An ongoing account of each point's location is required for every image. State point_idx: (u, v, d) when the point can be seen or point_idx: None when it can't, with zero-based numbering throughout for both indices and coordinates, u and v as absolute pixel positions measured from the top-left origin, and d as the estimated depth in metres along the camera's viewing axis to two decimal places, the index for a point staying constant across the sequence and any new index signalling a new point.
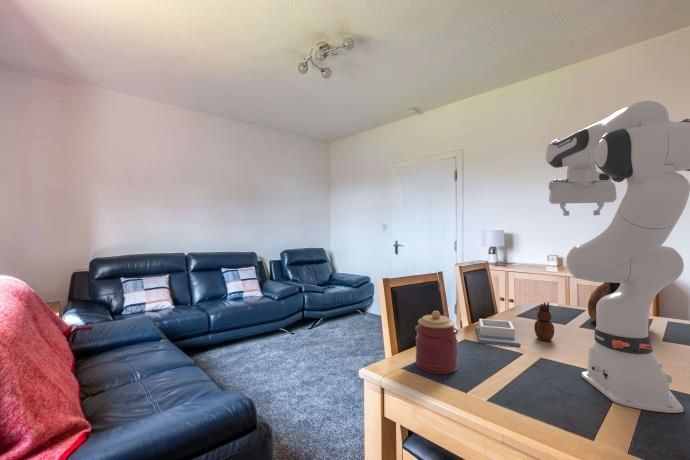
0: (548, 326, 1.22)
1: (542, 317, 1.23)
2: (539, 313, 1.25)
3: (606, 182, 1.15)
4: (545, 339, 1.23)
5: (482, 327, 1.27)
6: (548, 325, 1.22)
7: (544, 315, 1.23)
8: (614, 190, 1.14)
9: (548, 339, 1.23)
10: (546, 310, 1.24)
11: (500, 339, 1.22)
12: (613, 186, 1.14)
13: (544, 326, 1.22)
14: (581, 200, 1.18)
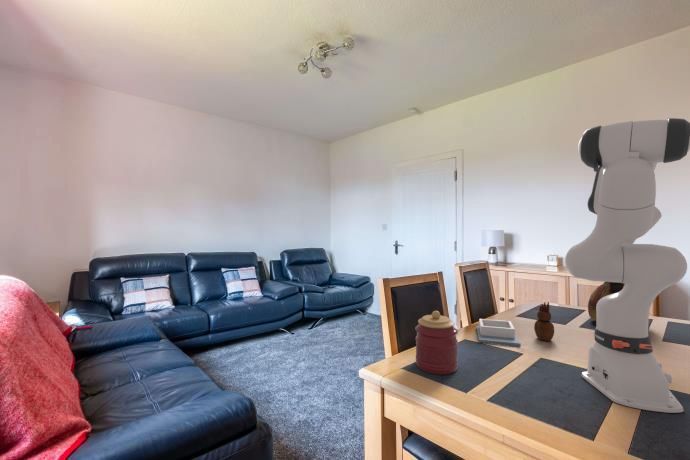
0: (548, 326, 1.22)
1: (542, 317, 1.23)
2: (539, 313, 1.25)
3: None
4: (545, 339, 1.23)
5: (482, 327, 1.27)
6: (548, 325, 1.22)
7: (544, 315, 1.23)
8: None
9: (548, 339, 1.23)
10: (546, 310, 1.24)
11: (500, 339, 1.22)
12: None
13: (544, 326, 1.22)
14: None
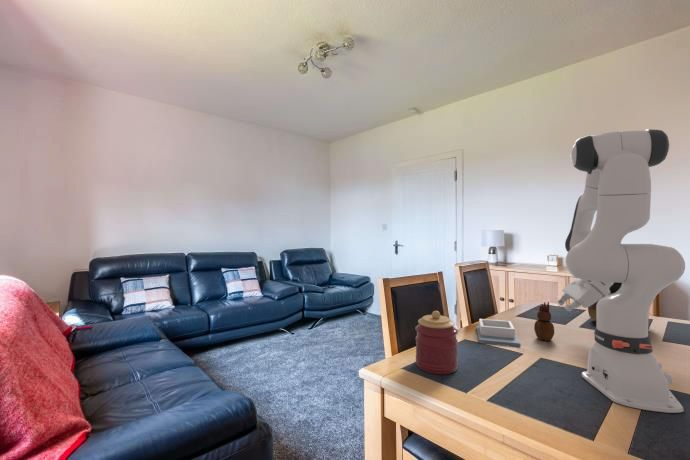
0: (548, 326, 1.22)
1: (542, 317, 1.23)
2: (539, 313, 1.25)
3: (588, 284, 1.15)
4: (545, 339, 1.23)
5: (482, 327, 1.27)
6: (548, 325, 1.22)
7: (544, 315, 1.23)
8: (585, 292, 1.13)
9: (548, 339, 1.23)
10: (546, 310, 1.24)
11: (500, 339, 1.22)
12: (587, 289, 1.13)
13: (544, 326, 1.22)
14: (569, 293, 1.23)
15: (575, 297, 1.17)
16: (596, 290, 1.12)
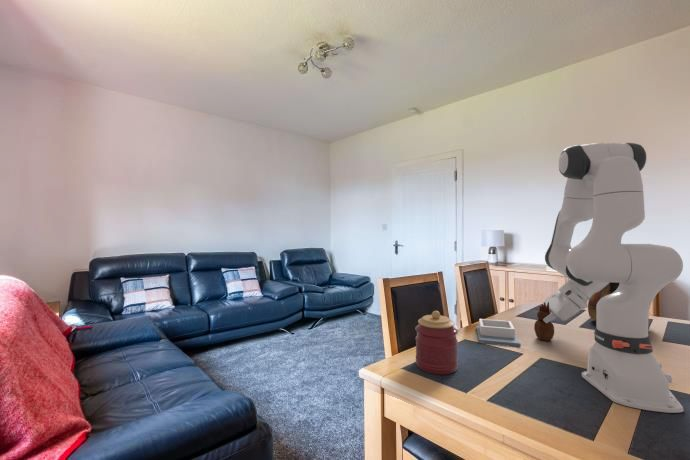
0: (548, 326, 1.22)
1: (542, 317, 1.23)
2: (539, 313, 1.25)
3: (566, 298, 1.17)
4: (545, 339, 1.23)
5: (482, 327, 1.27)
6: (548, 325, 1.22)
7: (544, 315, 1.23)
8: (562, 305, 1.15)
9: (548, 339, 1.23)
10: (546, 310, 1.24)
11: (500, 339, 1.22)
12: (565, 302, 1.15)
13: (544, 326, 1.22)
14: (549, 306, 1.25)
15: (553, 310, 1.19)
16: (573, 304, 1.14)
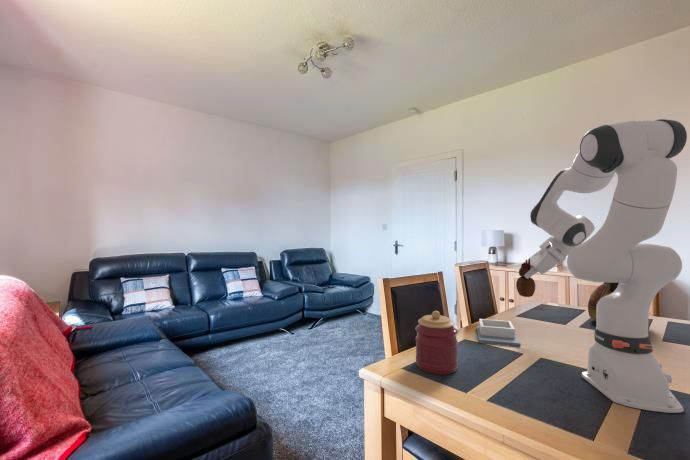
0: (528, 282, 1.24)
1: (524, 273, 1.25)
2: (520, 270, 1.27)
3: (546, 252, 1.19)
4: (526, 295, 1.25)
5: (482, 327, 1.27)
6: (529, 280, 1.24)
7: (525, 272, 1.25)
8: (542, 259, 1.17)
9: (529, 295, 1.25)
10: (527, 267, 1.26)
11: (500, 339, 1.22)
12: (544, 256, 1.17)
13: (525, 282, 1.24)
14: (530, 262, 1.27)
15: (534, 265, 1.21)
16: (552, 257, 1.16)
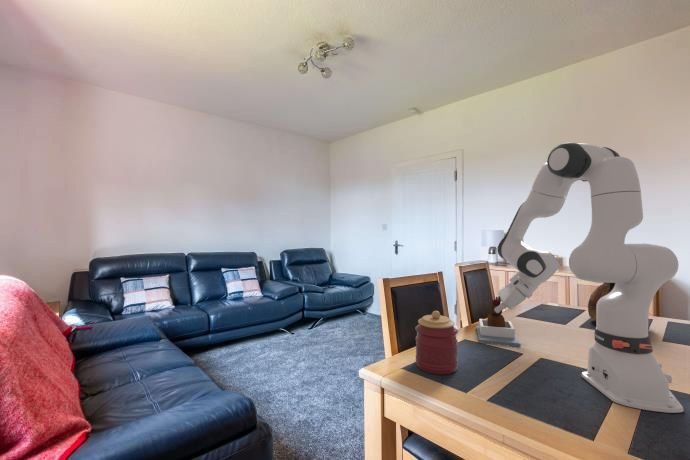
0: (498, 320, 1.27)
1: (494, 310, 1.29)
2: (491, 307, 1.30)
3: (513, 287, 1.22)
4: None
5: (482, 327, 1.27)
6: (499, 318, 1.28)
7: None
8: (509, 294, 1.21)
9: None
10: (497, 304, 1.29)
11: (500, 339, 1.22)
12: (512, 291, 1.21)
13: (495, 319, 1.28)
14: (500, 295, 1.31)
15: (502, 299, 1.24)
16: (519, 293, 1.20)
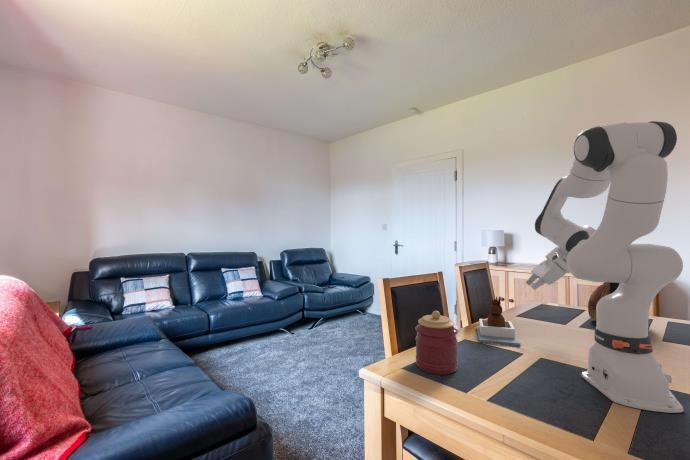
0: (498, 320, 1.27)
1: (494, 310, 1.29)
2: (491, 307, 1.30)
3: (552, 262, 1.18)
4: None
5: (482, 327, 1.27)
6: (499, 318, 1.28)
7: (495, 309, 1.29)
8: (549, 269, 1.16)
9: None
10: (498, 304, 1.29)
11: (500, 339, 1.22)
12: (551, 266, 1.16)
13: (495, 319, 1.28)
14: (536, 273, 1.26)
15: (540, 275, 1.20)
16: (559, 267, 1.16)
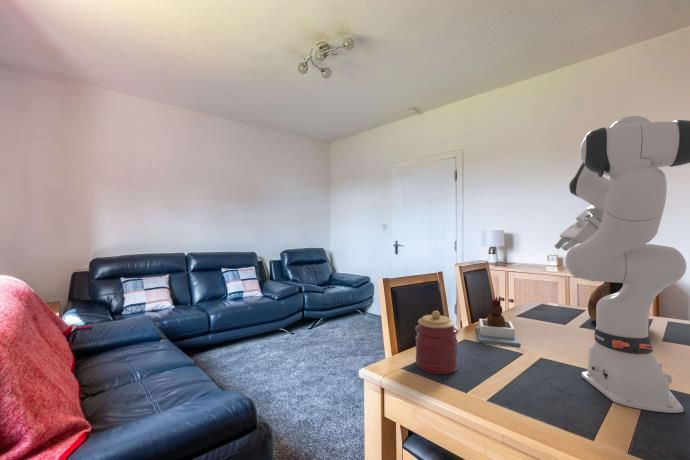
0: (498, 320, 1.27)
1: (494, 310, 1.29)
2: (491, 307, 1.30)
3: (585, 221, 1.15)
4: None
5: (482, 327, 1.27)
6: (499, 318, 1.28)
7: (495, 309, 1.29)
8: (582, 228, 1.13)
9: None
10: (498, 304, 1.29)
11: (500, 339, 1.22)
12: (584, 225, 1.13)
13: (495, 319, 1.28)
14: (567, 235, 1.23)
15: (572, 235, 1.17)
16: (593, 226, 1.12)
